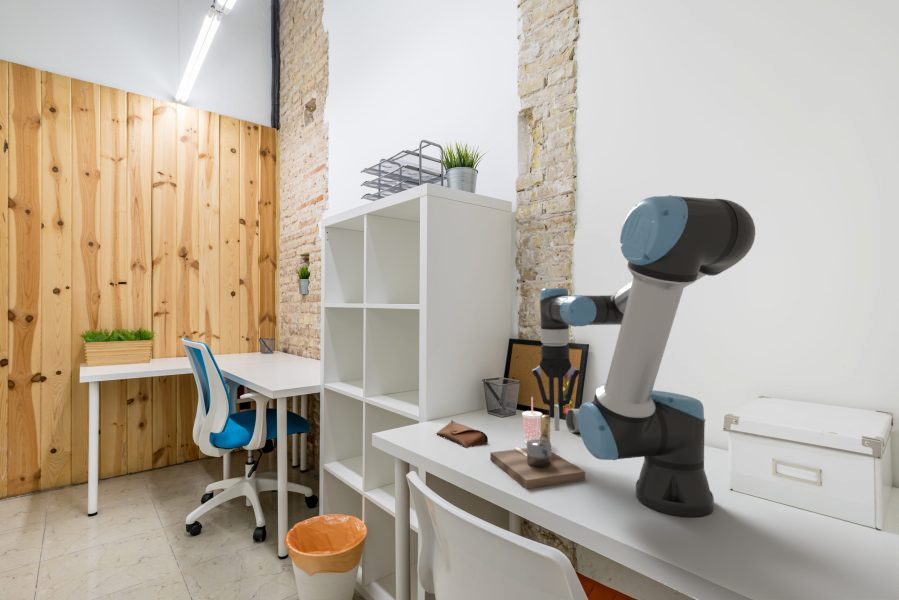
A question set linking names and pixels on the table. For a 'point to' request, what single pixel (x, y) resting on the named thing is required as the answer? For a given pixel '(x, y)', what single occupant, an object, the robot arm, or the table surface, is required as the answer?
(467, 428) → the sunglasses case
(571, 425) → the ceramic mug
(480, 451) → the table surface
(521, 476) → the walnut stand plate
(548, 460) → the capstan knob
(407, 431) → the table surface
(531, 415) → the beverage cup
